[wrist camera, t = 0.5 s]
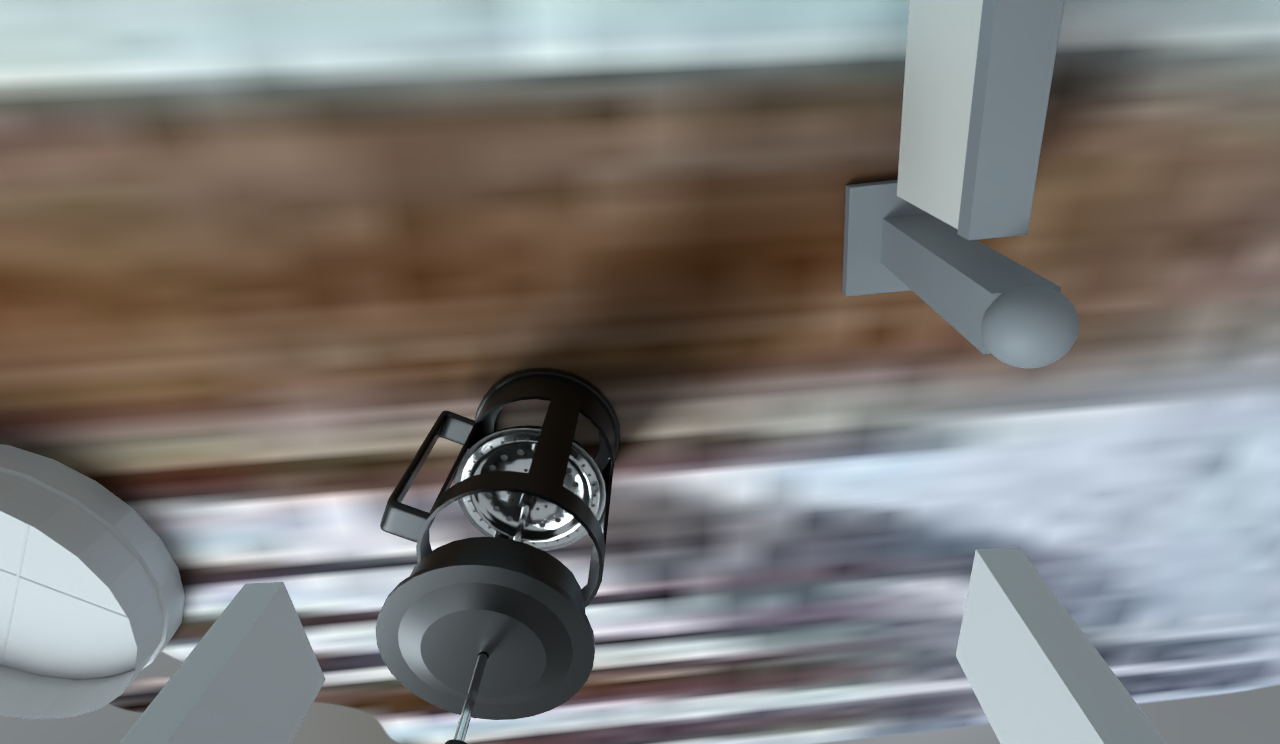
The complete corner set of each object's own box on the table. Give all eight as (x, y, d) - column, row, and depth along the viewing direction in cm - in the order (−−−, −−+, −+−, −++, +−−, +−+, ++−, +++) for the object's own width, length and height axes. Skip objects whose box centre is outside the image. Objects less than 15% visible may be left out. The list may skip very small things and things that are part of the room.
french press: (653, 405, 40) (651, 770, 19) (597, 513, 44) (545, 914, 23) (475, 334, 38) (263, 655, 17) (433, 453, 42) (218, 832, 21)
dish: (-123, 381, 41) (-218, 421, 36) (219, 523, 45) (171, 574, 41) (-134, 597, 50) (-213, 651, 45) (154, 699, 54) (109, 757, 50)
